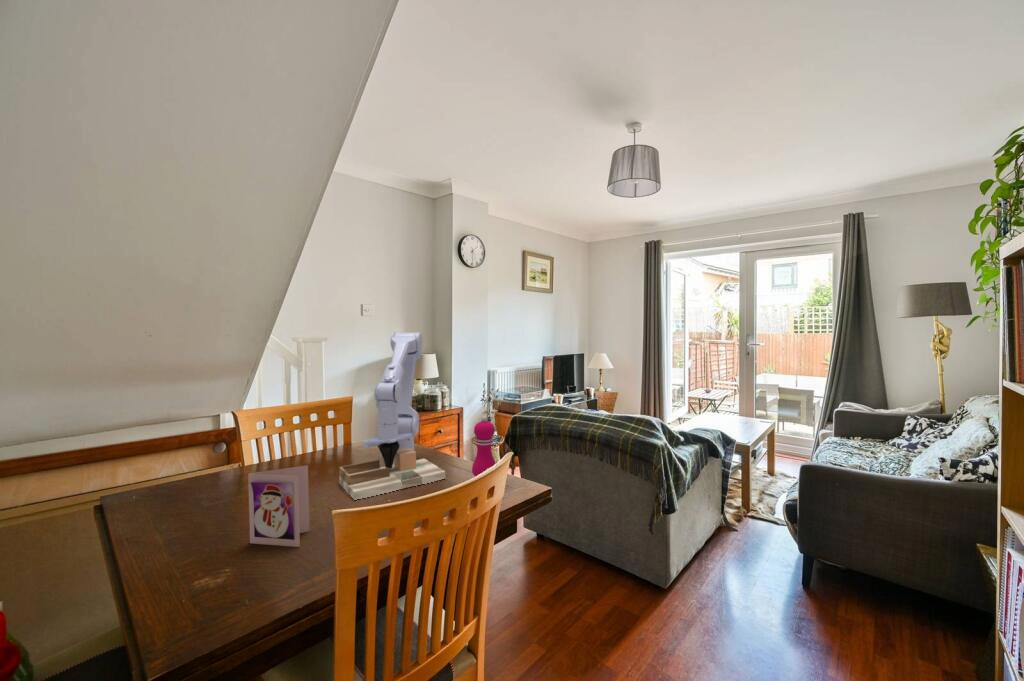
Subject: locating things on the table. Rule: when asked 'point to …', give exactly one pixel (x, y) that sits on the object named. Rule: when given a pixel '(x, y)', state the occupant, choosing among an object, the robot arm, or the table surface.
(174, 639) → the table surface
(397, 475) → the plate
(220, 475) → the table surface
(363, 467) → the wooden frame
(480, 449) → the pepper mill
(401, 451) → the cube
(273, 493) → the greeting card
